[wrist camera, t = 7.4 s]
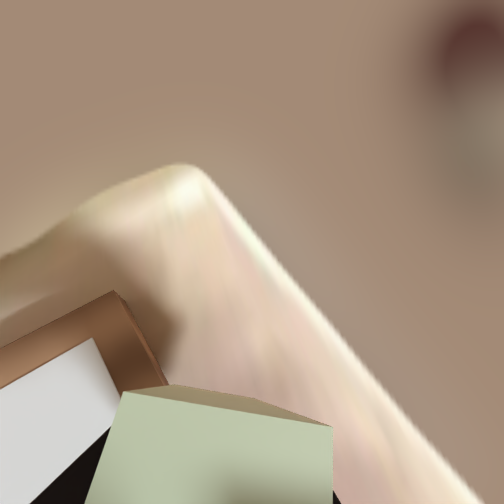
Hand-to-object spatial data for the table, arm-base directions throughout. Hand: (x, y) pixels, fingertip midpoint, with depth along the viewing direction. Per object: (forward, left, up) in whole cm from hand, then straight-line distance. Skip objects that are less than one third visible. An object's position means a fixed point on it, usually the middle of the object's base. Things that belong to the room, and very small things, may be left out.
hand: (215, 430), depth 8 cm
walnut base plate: (+5, +8, -13) cm, 16 cm away
